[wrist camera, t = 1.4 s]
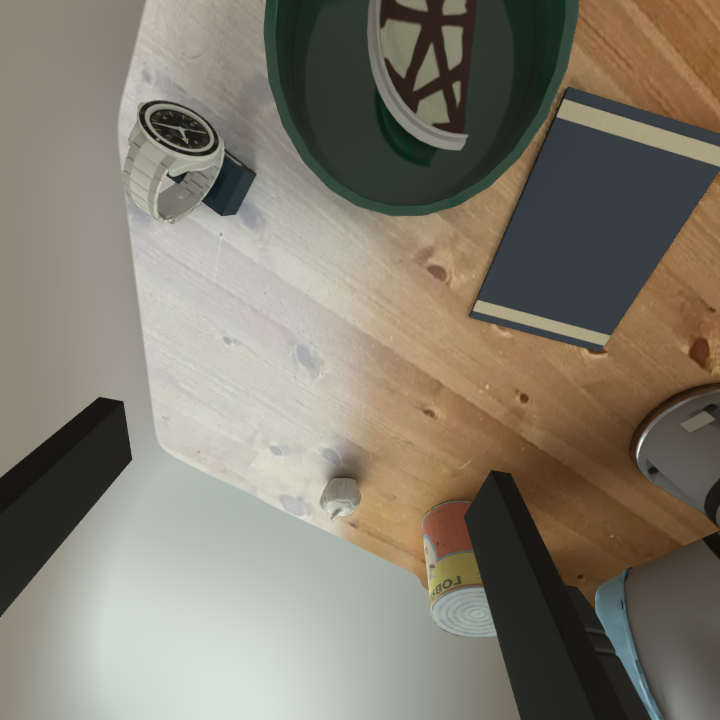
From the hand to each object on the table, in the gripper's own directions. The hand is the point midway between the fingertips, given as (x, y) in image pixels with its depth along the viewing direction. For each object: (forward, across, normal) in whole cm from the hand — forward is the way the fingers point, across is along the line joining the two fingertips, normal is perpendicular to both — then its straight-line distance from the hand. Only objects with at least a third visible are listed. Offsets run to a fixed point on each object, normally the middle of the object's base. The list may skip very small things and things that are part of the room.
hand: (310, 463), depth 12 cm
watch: (+27, +14, -7) cm, 31 cm away
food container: (+26, -2, -17) cm, 31 cm away
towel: (+25, -21, -9) cm, 34 cm away
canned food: (+24, -24, +33) cm, 48 cm away
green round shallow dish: (+26, -2, -17) cm, 31 cm away
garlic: (+25, -6, +30) cm, 39 cm away
